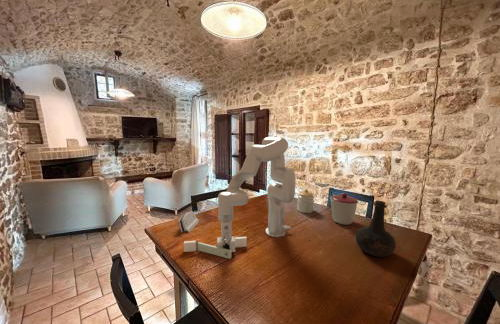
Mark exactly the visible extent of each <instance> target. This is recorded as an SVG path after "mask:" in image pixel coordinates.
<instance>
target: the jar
mask: <svg viewBox="0 0 500 324" xmlns="http://www.w3.org/2000/svg"><path fill="white" fill-rule="evenodd" d="M314 198H315V195H314V192H312V191H310V190H308V188H305V189H304V190H300V191H299V192H298V195H297V206H296V208H297V211H299V212H300V213H304V214H311V213H313V212H314V210H315V209H314V206H315V200H314Z"/></svg>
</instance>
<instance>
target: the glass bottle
mask: <svg viewBox="0 0 500 324" xmlns="http://www.w3.org/2000/svg"><path fill="white" fill-rule="evenodd" d="M386 203H387V202H385V201H383V200H375V202H374V203H373V206H374V209H373V210H374V211H373V213H372V218H371V221H370V223H369V225H368V226H363V227H361V228H359V229H358V230H357V231H356V233H355V241H356V244H357V245H358V247H359V248H360V249H361V250H362V251H363V252H365V253H367V254H369V255H371V256H374V257H378V258H385V257H388V256H389V255H391V254H393V253H394V251H395V250H396V247H397V242H396V240H395V238H394V236H393V235H392V234H391V233H390V232H388V231H387V230H386V229H385V209H386V208H387V207H388V206H387V205H386Z"/></svg>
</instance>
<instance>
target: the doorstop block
mask: <svg viewBox="0 0 500 324" xmlns="http://www.w3.org/2000/svg"><path fill="white" fill-rule="evenodd" d="M216 239H217V241H216V243H217V245H216V246H217V247H221V248H223V245H224V240H222V236H220V237H216ZM224 239H225V238H224ZM229 244H230V250H231V253H236V248H235V235H232V240H229Z"/></svg>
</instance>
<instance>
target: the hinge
mask: <svg viewBox="0 0 500 324" xmlns="http://www.w3.org/2000/svg"><path fill="white" fill-rule="evenodd" d="M199 222H200V220H199V218H197V216H196V215H195V212H194V211H187V212H184V214H182V216H181V217H180V218H179V219H178V224H179V228H180V232H181V233H183V232H187V233H190V232H191V231H192V230H193V229H194V228H195V226H196V225H197V224H198V223H199Z"/></svg>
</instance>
